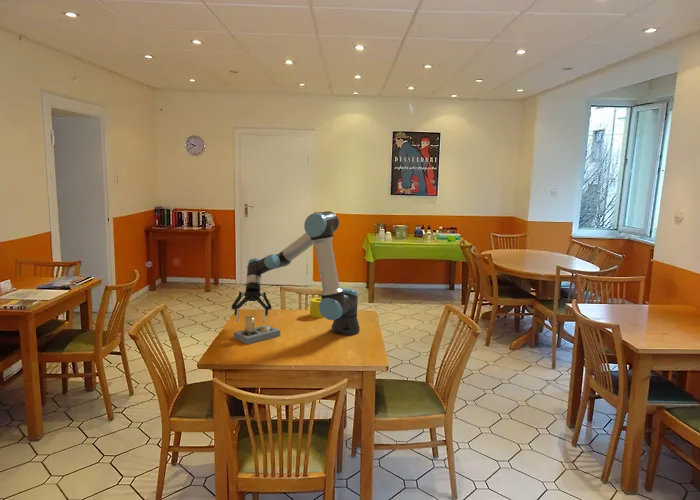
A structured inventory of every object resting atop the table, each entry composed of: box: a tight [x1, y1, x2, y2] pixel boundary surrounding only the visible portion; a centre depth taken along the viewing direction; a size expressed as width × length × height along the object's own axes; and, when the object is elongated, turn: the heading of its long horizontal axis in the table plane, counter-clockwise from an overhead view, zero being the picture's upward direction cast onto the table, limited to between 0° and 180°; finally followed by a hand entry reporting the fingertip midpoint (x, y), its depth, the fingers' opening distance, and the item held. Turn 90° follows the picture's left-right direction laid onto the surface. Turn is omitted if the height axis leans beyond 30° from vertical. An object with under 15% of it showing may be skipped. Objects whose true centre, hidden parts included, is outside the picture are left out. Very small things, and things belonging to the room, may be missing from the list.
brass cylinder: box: [244, 315, 255, 336], centre depth 252 cm, size 4×4×11 cm
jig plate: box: [232, 324, 281, 345], centre depth 256 cm, size 12×20×3 cm, turn 135°
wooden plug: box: [258, 324, 270, 332], centre depth 259 cm, size 5×5×4 cm
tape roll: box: [309, 297, 325, 319], centre depth 297 cm, size 10×10×9 cm
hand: (250, 320), depth 258 cm, fingers open, 13 cm apart
